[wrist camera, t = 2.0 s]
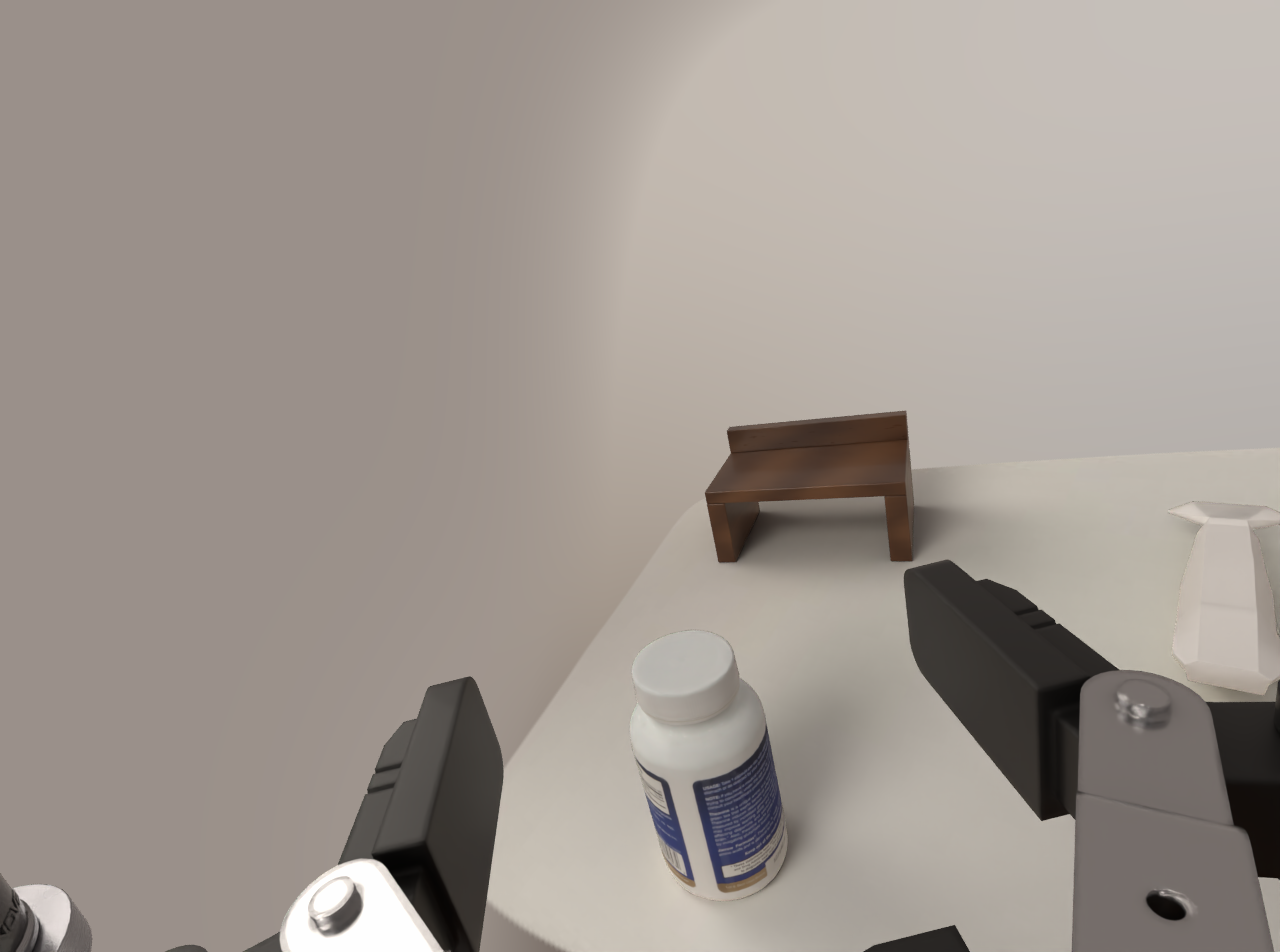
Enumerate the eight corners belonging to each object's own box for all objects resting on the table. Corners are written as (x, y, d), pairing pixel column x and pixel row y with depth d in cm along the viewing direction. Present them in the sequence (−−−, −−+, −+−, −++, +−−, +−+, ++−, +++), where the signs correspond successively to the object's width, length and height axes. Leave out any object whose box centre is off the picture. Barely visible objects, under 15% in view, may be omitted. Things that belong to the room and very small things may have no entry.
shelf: (718, 562, 52) (699, 467, 49) (744, 511, 59) (729, 426, 57) (912, 561, 46) (903, 453, 43) (914, 504, 54) (906, 410, 51)
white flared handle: (1139, 718, 30) (1143, 645, 29) (1167, 536, 42) (1170, 479, 41) (1311, 759, 27) (1324, 678, 25) (1286, 547, 39) (1294, 485, 38)
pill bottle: (795, 800, 30) (761, 617, 27) (782, 915, 25) (740, 710, 22) (680, 791, 32) (636, 619, 29) (649, 897, 27) (592, 706, 24)
